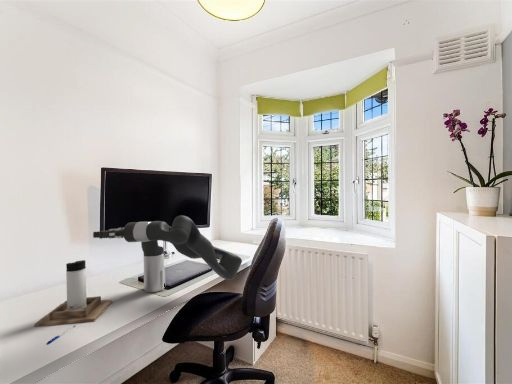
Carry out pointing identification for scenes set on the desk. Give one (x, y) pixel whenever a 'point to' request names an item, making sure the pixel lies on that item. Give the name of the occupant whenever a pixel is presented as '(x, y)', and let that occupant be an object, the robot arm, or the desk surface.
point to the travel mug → (76, 285)
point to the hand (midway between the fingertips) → (102, 233)
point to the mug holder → (75, 313)
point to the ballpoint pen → (59, 335)
